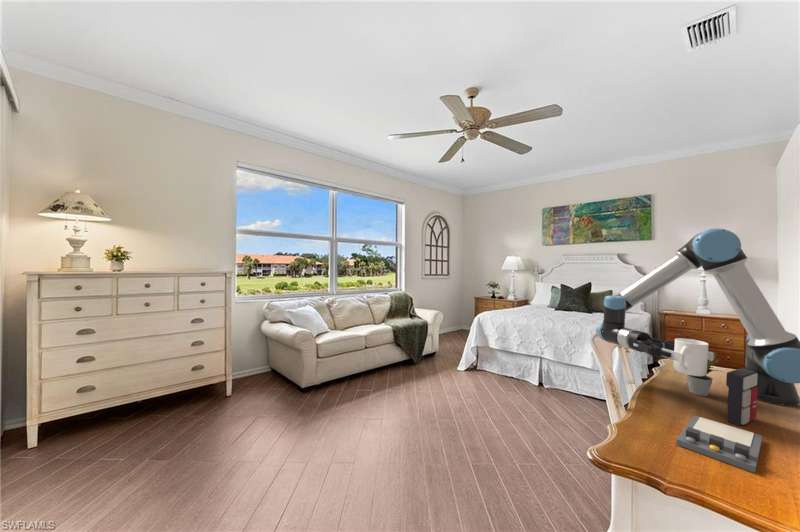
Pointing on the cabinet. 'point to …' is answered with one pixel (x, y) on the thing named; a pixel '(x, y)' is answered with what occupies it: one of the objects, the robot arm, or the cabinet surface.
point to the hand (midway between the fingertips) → (698, 357)
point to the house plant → (701, 381)
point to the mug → (692, 356)
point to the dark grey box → (741, 396)
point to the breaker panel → (726, 450)
